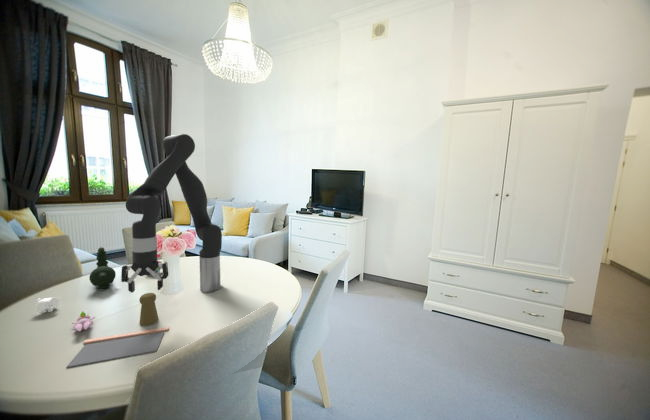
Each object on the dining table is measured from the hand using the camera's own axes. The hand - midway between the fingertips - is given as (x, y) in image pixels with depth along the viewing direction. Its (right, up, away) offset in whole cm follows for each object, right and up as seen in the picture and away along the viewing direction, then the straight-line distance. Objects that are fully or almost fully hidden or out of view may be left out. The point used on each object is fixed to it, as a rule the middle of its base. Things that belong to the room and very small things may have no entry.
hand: (146, 290), depth 93 cm
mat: (+2, -14, -14) cm, 20 cm away
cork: (0, -13, +2) cm, 13 cm away
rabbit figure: (-20, -13, -4) cm, 24 cm away
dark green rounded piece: (-44, -8, +30) cm, 54 cm away
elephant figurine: (-44, -11, +6) cm, 45 cm away
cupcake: (-30, -6, +47) cm, 56 cm away
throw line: (-1, -14, -7) cm, 15 cm away
